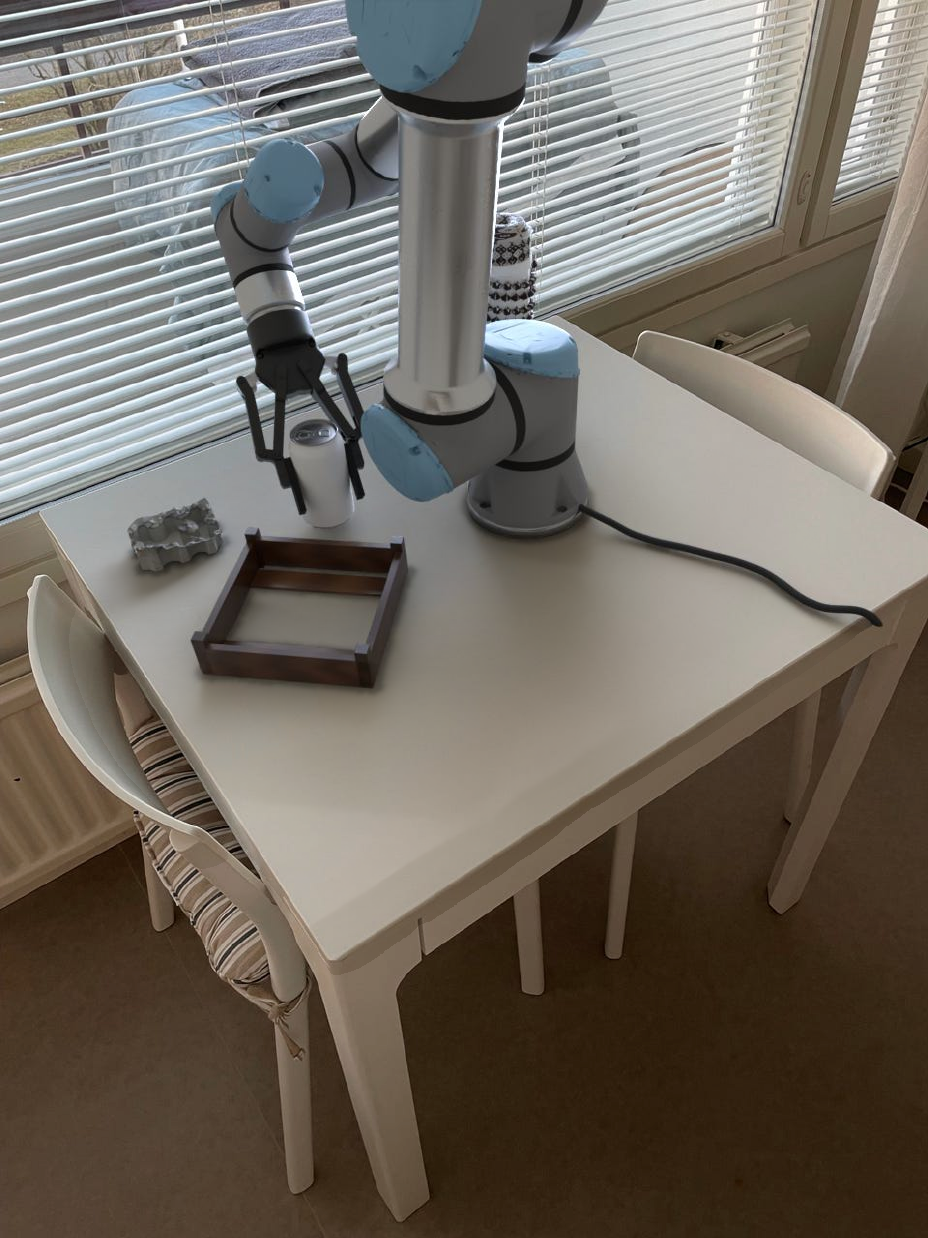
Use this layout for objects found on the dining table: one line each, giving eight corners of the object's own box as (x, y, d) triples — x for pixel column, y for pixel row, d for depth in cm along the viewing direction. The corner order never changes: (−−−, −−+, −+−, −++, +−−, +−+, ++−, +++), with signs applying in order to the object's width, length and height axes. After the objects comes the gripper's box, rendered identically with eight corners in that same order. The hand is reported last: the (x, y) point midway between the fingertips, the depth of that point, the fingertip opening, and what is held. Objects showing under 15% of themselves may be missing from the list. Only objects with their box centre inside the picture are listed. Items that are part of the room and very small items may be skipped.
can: (304, 500, 119) (287, 419, 110) (354, 496, 119) (341, 414, 110) (302, 532, 114) (284, 450, 106) (355, 527, 114) (341, 444, 106)
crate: (408, 570, 110) (404, 536, 107) (373, 688, 97) (366, 654, 94) (256, 560, 113) (247, 526, 110) (202, 674, 100) (190, 640, 96)
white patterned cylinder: (487, 370, 143) (481, 202, 125) (544, 380, 140) (546, 209, 122) (464, 400, 137) (454, 228, 119) (523, 411, 134) (522, 236, 117)
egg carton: (142, 578, 112) (131, 552, 109) (131, 542, 117) (121, 516, 114) (228, 551, 115) (220, 525, 112) (215, 517, 120) (207, 492, 117)
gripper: (351, 313, 117) (404, 490, 117) (196, 347, 112) (252, 530, 113) (357, 289, 109) (414, 478, 110) (192, 324, 105) (252, 521, 105)
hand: (332, 504), depth 111 cm, fingers closed on can, 6 cm apart
